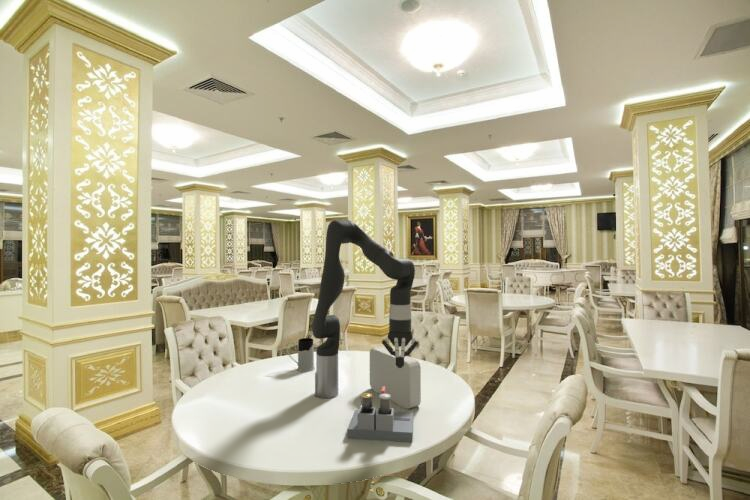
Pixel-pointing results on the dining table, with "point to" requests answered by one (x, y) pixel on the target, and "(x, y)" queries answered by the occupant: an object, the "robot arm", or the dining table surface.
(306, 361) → the grey mug
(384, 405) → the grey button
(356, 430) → the console
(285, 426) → the dining table surface
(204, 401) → the dining table surface
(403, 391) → the rounded white slab
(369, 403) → the brass button
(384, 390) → the red lever
